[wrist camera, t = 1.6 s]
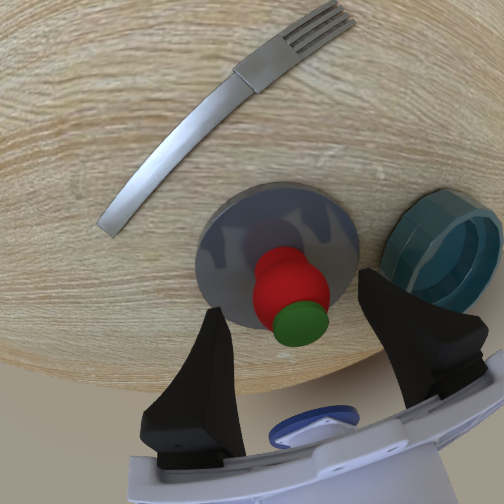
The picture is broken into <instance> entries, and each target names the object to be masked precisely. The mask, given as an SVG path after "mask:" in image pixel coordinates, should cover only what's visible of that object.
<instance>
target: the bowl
mask: <svg viewBox="0 0 504 504" xmlns="http://www.w3.org/2000/svg"><path fill="white" fill-rule="evenodd" d="M503 244H504V238H503V229H502V223H501V221H500V220H499V219H498V217H497V216H496V215H495V213H494V212H493V211H492V210H490V209H489V208H487V207H486V206H484V205H483V204H481V203H479V202H478V201H476V200H474V199H473V198H471V197H469V196H468V195H466V194H464V193H463V192H461V191H455V190H450V189H443V190H440V191H437V192H435V193H432V194H430V195H427V196H425V197H423V198H422V199H420V200H419V201H418V202H417V203H416V204H415V205H414V206H413V207H412V208H411V209H410V210H408V211H407V212H406V213H405V214H404V215H403V216H402V218H401V220H400V221H399V223H398V225H397V226H396V228H395V229H394V231H393V233H392V234H391V236H390V237H389V239H388V241H387V243H386V247H385V250H384V254H383V257H382V260H381V264H380V275H381V276H383V277H384V278H386V279H387V280H389V281H390V282H392V283H394V284H395V285H397V286H398V287H400V288H402V289H403V290H405V291H407V292H409V293H410V294H412V295H414V296H416V297H418V298H420V299H422V300H424V301H427V302H429V303H431V304H434V305H436V306H439V307H442V308H445V309H448V310H451V311H455V312H459V313H463V314H465V313H466V312H467V311H468V310H470V309H471V308H472V307H473V306H474V305H475V304H476V302H477V301H478V300H479V299H480V297H481V296H482V295H483V293H484V292H485V290H486V289H487V287H488V286H489V285H490V283H491V281H492V279H493V277H494V274H495V272H496V270H497V268H498V265H499V263H500V259H501V254H502V249H503Z"/></svg>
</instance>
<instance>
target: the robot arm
mask: <svg viewBox="0 0 504 504" xmlns="http://www.w3.org/2000/svg"><path fill="white" fill-rule="evenodd" d="M358 301H359V304H360V306H361V308H362V311H363V313H364V315H365V317H366V319H367V320H368V322H369V324H370V325H371V327H372V329H373V330H374V332H375V334H376V335H377V337H378V339H379V340H380V342H381V344H382V345H383V347H384V349H385V351H386V353H387V355H388V357H389V360H390V362H391V364H392V367H393V370H394V372H395V375H396V378H397V380H398V383H399V386H400V389H401V392H402V395H403V399H404V402H405V406H406V410H404V411H402V412H400V413H397V414H395V415H393V416H390V417H388V418H385V419H383V420H380V421H378V422H375V423H373V424H370V425H368V426H365V427H362V428H359V429H358V426H355V425H352V424H349V423H346V422H343V421H340V420H337V419H334V418H332V417H329V416H325V417H323V418H321V419H319V420H317V421H315V422H313V423H311V424H309V425H306V426H304V427H302V428H300V429H298V430H296V431H293V432H291V433H289V434H287V435H284V436H282V437H279V438H277V439H275V443H278V444H283V445H287V446H290V448H288V449H284V450H279V451H274V452H268V453H263V454H257V455H251V456H246V452H245V448H244V443H243V439H242V433H241V428H240V423H239V417H238V411H237V405H236V398H235V388H234V354H233V345H232V338H231V333H230V330H229V328H228V325H227V323H226V320H225V318H224V315H223V313H222V310H221V308H220V306H219V307H215V308H210V309H208V310H207V312H206V315H205V318H204V321H203V324H202V326H201V329H200V332H199V334H198V336H197V339H196V341H195V343H194V345H193V347H192V349H191V351H190V354H189V356H188V357H187V359H186V361H185V363H184V364H183V366H182V368H181V369H180V371H179V372H178V374H177V375H176V377H175V378H174V380H173V381H172V382H171V384H170V385H169V386H168V387H167V389H166V390H165V391H164V392H163V393H162V394H161V396H160V397H159V398H158V399H157V400H156V401H155V402H154V403H153V404H152V405H151V406H150V407H149V408H148V409H147V410H145V411H144V413H143V417H142V421H141V431H140V439H141V440H142V442H144V443H145V444H146V445H147V446H149V447H150V448H152V449H153V450H155V451H156V452H157V458H155V457H148V456H131V457H130V462H129V475H128V493H127V500H128V501H130V502H133V503H136V504H459V503H458V501H457V498H456V495H455V492H454V490H453V487H452V485H451V482H450V480H449V477H448V475H447V472H446V470H445V467H444V465H443V462H442V460H441V458H440V456H439V453H438V451H439V450H441V449H443V448H444V447H446V446H447V445H449V444H450V443H452V442H454V441H455V440H457V439H458V438H460V437H461V436H463V435H464V434H466V433H467V432H468V431H470V430H471V429H473V428H474V427H476V426H477V425H478V424H480V423H481V422H482V421H484V420H485V419H486V418H488V417H489V416H490V415H491V414H493V413H494V412H495V411H496V410H498V409H499V408H500V407H501V406H503V405H504V351H503V350H502V349H500V350H499V351H497V352H496V353H494V354H493V355H491V356H490V357H489V358H488V359H486V360H485V362H484V361H483V359H482V357H483V353H482V352H481V351H480V349H481V348H482V346H483V344H484V342H485V340H486V338H487V336H488V331H489V329H488V327H487V326H486V324H485V323H484V322H483V321H482V320H481V318H480V317H479V316H474V315H468V314H463V313H459V312H455V311H451V310H448V309H445V308H442V307H439V306H436V305H434V304H431V303H429V302H427V301H424V300H422V299H420V298H418V297H416V296H414V295H412V294H410V293H409V292H407V291H405V290H403V289H402V288H400V287H398V286H397V285H395V284H394V283H392V282H390V281H389V280H387V279H386V278H384V277H383V276H381V275H380V274H378V273H377V272H375V271H374V270H372V269H370V268H366V269H363V270H359V274H358Z"/></svg>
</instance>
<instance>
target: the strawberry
mask: <svg viewBox="0 0 504 504" xmlns="http://www.w3.org/2000/svg"><path fill="white" fill-rule="evenodd" d="M255 279H256V283H255V286H254V289H253V307H254V311H255V313H256V315H257V317H258V319H259V321H260V322H261V323H262V324H263V325H264V326H265V327H266V328H267V329H268V330H270V331H272V332H273V333H274V336H275V338H276V340H277V341H278V342H279V343H281V344H283V345H285V346H289V347H300V346H305V345H308V344H310V343H312V342H314V341H316V340H317V339H319V338H320V337H321V336H322V335H323V334H324V333H325V331H326V330H327V327H328V324H329V319H328V316H327V312H328V309H329V305H330V290H329V286H328V283H327V281H326V279H325V277H324V276H323V274H322V273H321V272H320V271H319V270H318V269H317V268H316V267H315V266H313V265H311V264H310V263H309V262H308V260H307V258H306V257H305V255H304V254H303V253H302V252H301V251H299V250H297V249H295V248H292V247H278V248H274V249H272V250H270V251H268V252H266V253H265V254H264V255H263V256H262V257H261V258H260V259H259V261H258V262H257V264H256V267H255Z"/></svg>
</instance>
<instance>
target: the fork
mask: <svg viewBox="0 0 504 504" xmlns="http://www.w3.org/2000/svg"><path fill="white" fill-rule="evenodd" d="M337 3H338V1H337V0H331V1H329V2H327V3H326V4H324V5H322V6H321V7H319V8H317V9H316V10H314V11H312V12H311V13H309V14H307V15H306V16H304V17H303V18H301V19H300V20H298V21H296V22H295V23H293V24H292V25H290V26H289V27H287V28H286V29H285V30H283V31H282V32H280V33H279V34H277V35H276V36H275V37H273V38H272V39H270V40H269V41H268V42H266V43H265V44H264V45H262V46H261V47H260V48H258V49H257V50H256V51H254V52H253V53H252V54H251V55H249V56H248V57H247V58H245V59H244V60H243V61H242V62H240V63H239V64H238V65H237V66H236V67H234V68H233V72H234V73H233V74H232V75H231V76H230V77H229V78H228V79H226V80H225V81H224V82H223V83H222V84H221V85H220V86H218V87H217V88H216V89H215V90H214V91H213V92H212V93H211V94H210V95H208V96H207V97H206V98H205V99H204V100H203V101H202V102H201V103H200V104H199V105H198V106H197V107H196V108H195V109H194V110H193V111H192V112H191V113H190V114H189V115H188V116H186V117H185V118H184V119H183V120H182V122H181V123H180V124H179V125H178V126H177V127H176V128H175V129H174V130H173V131H172V132H171V133H170V134H169V135H168V136H167V137H166V138H165V139H164V140H163V141H162V142H161V144H160V145H159V146H158V147H157V148H156V149H155V150H154V151H153V152H152V154H151V155H150V156H149V157H148V158H147V159H146V160H145V162H144V163H143V164H142V165H141V166H140V167H139V169H138V170H137V171H136V172H135V173H134V175H133V176H132V177H131V178H130V179H129V181H128V182H127V183H126V184H125V186H124V187H123V188H122V189H121V191H120V192H119V193H118V195H117V196H116V197H115V198H114V200H113V201H112V202H111V204H110V205H109V206H108V208H107V209H106V210H105V212H104V213H103V214H102V216H101V217H100V219H99V220H98V221H97V223H96V224H97V225H98V226H99V227H100V228H102V229H103V230H104V231H105V232H106V233H108V234H109V235H110V236H111V237H112V238H115V236H116V235H117V234H118V233H119V231H120V230H121V229H122V228H123V226H124V225H125V224H126V223H127V221H128V220H129V219H130V218H131V217H132V215H133V214H134V213H135V212H136V211H137V209H138V208H139V207H140V206H141V205H142V203H143V202H144V201H145V200H146V199H147V198H148V197H149V195H150V194H151V193H152V192H153V191H154V190H155V189H156V188H157V186H158V185H159V184H160V183H161V182H162V181H163V180H164V179H165V178H166V177H167V175H168V174H169V173H170V172H171V171H172V170H173V169H174V168H175V167H176V166H177V165H178V164H179V163H180V162H181V161H182V160H183V159H184V158H185V156H186V155H187V154H188V153H189V152H190V151H191V150H192V149H193V148H194V147H195V146H196V145H197V144H198V143H199V142H200V141H201V140H202V139H204V138H205V137H206V136H207V135H208V134H209V133H210V132H211V131H212V130H213V129H214V128H215V127H216V126H217V125H218V124H219V123H220V122H221V121H223V120H224V119H225V118H226V117H227V116H228V115H229V114H230V113H231V112H232V111H234V110H235V109H236V108H237V107H238V106H239V105H240V104H241V103H243V102H244V101H245V100H246V99H247V98H248V97H250V96H251V95H252V94H253V93H254V92H255V93H256V94H259V93H261V92H262V91H263V90H264V89H265V88H267V87H268V86H269V85H270V84H272V83H273V82H274V81H275V80H277V79H278V78H279V77H280V76H282V75H283V74H284V73H285V72H287V71H288V70H289V69H291V68H292V67H293V66H295V65H296V64H297V63H299V62H300V61H301V60H302V59H304V58H305V57H307V56H308V55H310V54H311V53H312V52H314V51H315V50H317V49H318V48H319V47H321V46H322V45H324V44H325V43H327V42H328V41H330V40H331V39H333V38H334V37H336V36H337V35H339V34H340V33H342V32H343V31H345V30H347V29H348V28H350V27H351V26H353V25H355V24H356V22H355V21H354V19H352V20H350V21H348V22H347V23H345V24H343V25H342V26H340V27H339V28H337V29H335V30H334V31H332V32H331V33H329V34H328V35H326V36H325V37H323V38H322V39H320V40H319V41H317V42H316V43H314V44H313V45H312V46H310V47H309V48H307V49H306V50H304V51H303V52H302V53H300V54H298V53H297V51H298V50H300V49H301V48H303V47H304V46H305V45H307V44H308V43H310V42H311V41H313V40H314V39H316V38H317V37H319V36H320V35H322V34H323V33H325V32H326V31H328V30H329V29H331V28H332V27H334V26H335V25H337V24H339V23H340V22H342V21H344V20H345V19H347V18H348V17H350V15H349V14H348V12H346V13H344V14H343V15H341V16H339V17H338V18H336V19H334V20H333V21H331V22H330V23H328V24H326V25H325V26H323V27H322V28H320V29H319V30H317V31H316V32H314V33H313V34H311V35H310V36H308V37H307V38H305V39H304V40H302V41H301V42H299V43H298V44H297V45H295V46H294V47H291V46H290V44H291V43H293V42H294V41H296V40H297V39H299V38H300V37H301V36H303V35H304V34H306V33H307V32H309V31H310V30H312V29H313V28H315V27H316V26H318V25H320V24H321V23H323V22H324V21H326V20H328V19H329V18H331V17H332V16H334V15H336V14H337V13H339V12H341V11H342V10H344V8H343V7H342V6H341V5H340V6H339V7H337V8H335V9H333V10H332V11H330V12H328V13H327V14H325V15H323V16H322V17H320V18H319V19H317V20H315V21H314V22H312V23H311V24H309V25H308V26H306V27H305V28H303V29H302V30H300V31H299V32H297V33H296V34H294V35H293V36H291V37H290V38H288V39H287V40H285V39H284V37H285V36H286V35H288V34H289V33H291V32H292V31H294V30H295V29H297V28H298V27H300V26H301V25H303V24H304V23H306V22H307V21H309V20H310V19H312V18H314V17H315V16H317V15H318V14H320V13H322V12H323V11H325V10H327V9H328V8H330V7H332V6H334V5H335V4H337Z"/></svg>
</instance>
